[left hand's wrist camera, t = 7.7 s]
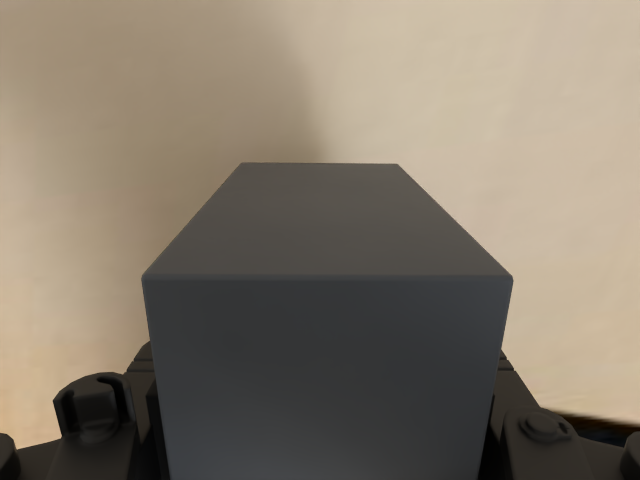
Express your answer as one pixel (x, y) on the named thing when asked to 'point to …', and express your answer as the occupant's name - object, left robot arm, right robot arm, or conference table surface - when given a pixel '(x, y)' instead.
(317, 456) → the post
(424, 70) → the conference table surface
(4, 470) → the left robot arm
